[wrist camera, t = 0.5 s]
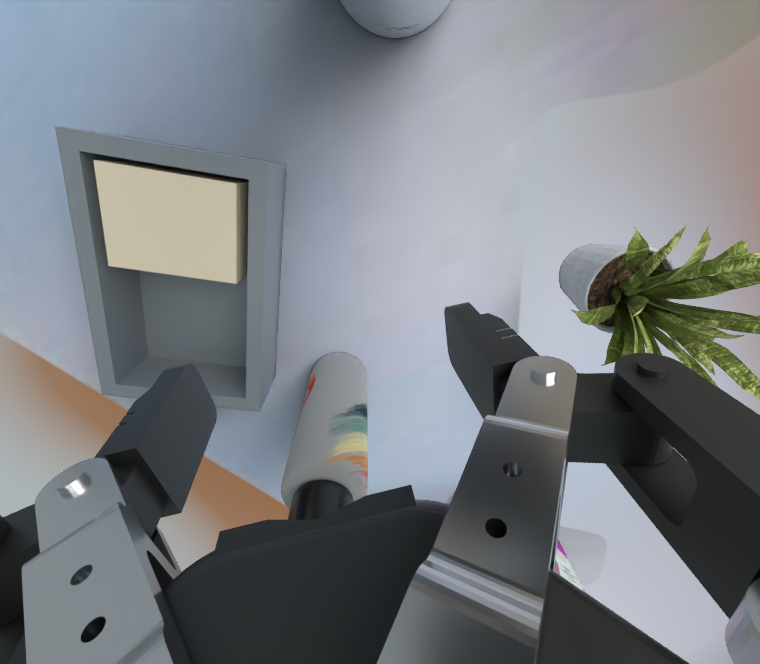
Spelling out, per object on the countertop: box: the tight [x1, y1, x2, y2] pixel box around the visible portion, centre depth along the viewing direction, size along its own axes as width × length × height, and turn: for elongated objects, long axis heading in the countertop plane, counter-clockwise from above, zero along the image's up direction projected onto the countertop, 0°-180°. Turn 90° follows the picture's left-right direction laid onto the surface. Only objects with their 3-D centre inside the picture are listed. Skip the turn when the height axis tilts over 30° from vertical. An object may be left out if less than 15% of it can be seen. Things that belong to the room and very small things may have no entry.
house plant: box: [559, 228, 760, 400], centre depth 27 cm, size 14×14×16 cm
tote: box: [55, 126, 286, 412], centre depth 30 cm, size 20×13×6 cm, turn 171°
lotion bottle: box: [281, 352, 367, 520], centre depth 28 cm, size 6×6×20 cm
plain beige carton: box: [93, 160, 249, 284], centre depth 27 cm, size 7×9×5 cm
